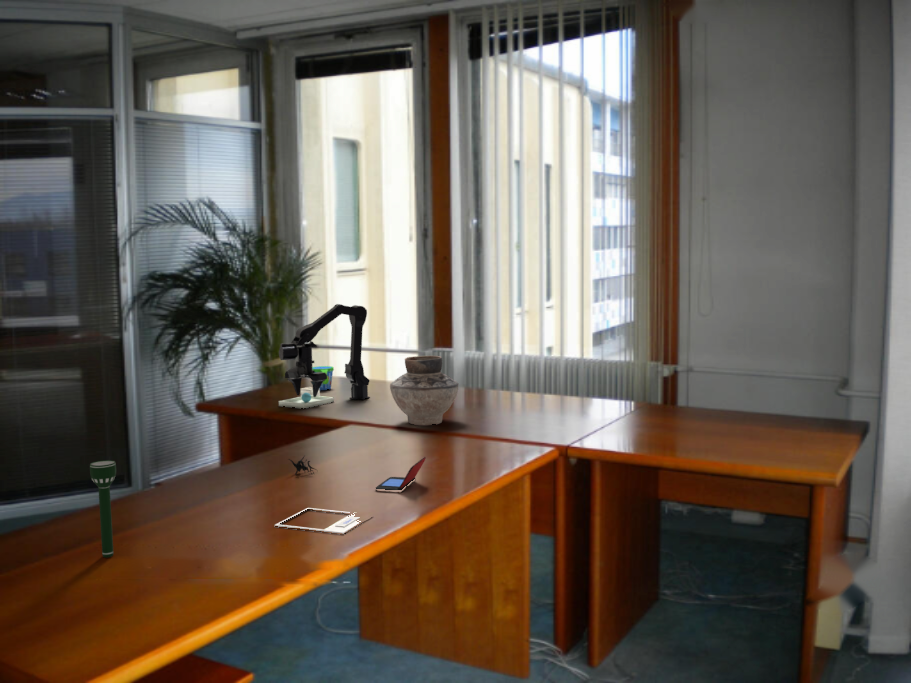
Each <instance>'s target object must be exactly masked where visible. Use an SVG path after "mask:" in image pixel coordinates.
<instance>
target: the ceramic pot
mask: <svg viewBox="0 0 911 683" xmlns="http://www.w3.org/2000/svg"><path fill="white" fill-rule="evenodd" d="M404 365H405V370H406V373H403V374H402V375H400V376H399V377H397V378H395V379H394V380H393V381H392V382H391V383H390V384H389V390H390V393H391V396H392V398H393V401H394V402H395V404H396V406H397V407H398V409H400V411H401V412H402V413H404V415H406V417H407V423H409V424H410V425H413V424H414V426H415V425H416V426H433V425H432V424H436V425H439V424H441V423H442V422H443V415H444V414H445V413H446V412H447V411H448V410H449V409H450V408H451V406H452V405H453V404H454V402H455V399H456V398H457V395H458V392H459V386H460V384H459V383H458V382H457V381H456V380H455V379H453V378H452V377H450V376H449V375H447V374H445V373H442V372H441V371H442V368H443V358H442V356H439V355H417V356H408V357H405V358H404Z"/></svg>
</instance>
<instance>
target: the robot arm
mask: <svg viewBox="0 0 911 683" xmlns="http://www.w3.org/2000/svg"><path fill="white" fill-rule="evenodd" d="M341 315H346V316H348V319H349V323H350V326H351V335H350V355H349V356H350V357H349V362H348V363H345V364H344V368H345V370H344V374H345V377H346V378H347V379H348V380H349V382H350V384H351V388H350V391H351V392H350V393H351V394H350V395H351V397H349V399H350V400H356V399H363V400H366V399H365V398H368V399H370V398H371V396H368V395H369V392H368V390H369V389H368V388H369V387H368V386H369V384H370V382H371V381H370V379H369V378H368V377H367V376H365V372H364V365H363V363H362V350H363V349H362V346H363V330H364V329H363V327H364V326H365V323H366V320H367V316H368V310H367V309H366V307H364V306H363V305H356V304H354V305H352V306H348V305H344V304H339V303H336V304H335V305H334V306H333V307H332V308H330V309H329V310H327V311H326V312H325V313H324V314H322V315H320V316H319V317H318V318H316V320H314V321H313V322H311V323H309V324H306V325H304V326H302V327H300V328H298V329H296V331H295V336H294V337H293V339H292V340H291V342H290V343H280V344H279V350H278V356H279V360H280V361H288V360H289V361H291V360H296V358H297V360H296V362H295V366H293V367H291V368H289V369H288V370H287V371H285V373H284V378H285V379H286V380H287V381H289V382H290V383H291V384H292V385H293V386H292V387H293V389H294V391H295V393H296V396H301V390H300V389H301V388H302V378H305V379H310V383H311V385H312V386H311V387H313V397H316V395H317V393H318V391H319V388H320V386H321V384H322V383H323V381H325V380H326V379H327V374H326V373H324V372H317V373H315V370H313V368H312V367H313V364H315V360H313V348H317V346H318V345H317V344H315V343H314V341H313V339H315V337H316V336H317V334H319V332H320V331H321V330H323V329H324V328H325V327H327V325H329V324H330V323H332V321H334V320H335V319H337V318H338V317H340V316H341Z"/></svg>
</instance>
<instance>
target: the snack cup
mask: <svg viewBox="0 0 911 683" xmlns="http://www.w3.org/2000/svg"><path fill="white" fill-rule="evenodd" d="M312 368H313V370H315V373H317V372H324V373H326V374H327V379H326V380H325V381H323V383H322V384H321V386H320V391H328V390H327V389H329V390H331V388H332V383H333V374H334V373H333V372H334V370H335V369H334V366H330V365H324V366H323V365H321V366H312Z"/></svg>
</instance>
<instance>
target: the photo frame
mask: <svg viewBox="0 0 911 683" xmlns="http://www.w3.org/2000/svg"><path fill="white" fill-rule="evenodd" d="M307 509H313V510H322V511H330V512H341V513H342V512H343V513H350V512H351V511H342V510H332V509H323V508H315V507H314V508H313V507H307V508H304V509H303V510H301V511H299V512H296V513H295V514H293V515H291V516H289V517H287V518H286V519H283V520H281V521H279V522H278V523H275V524H274V527H275V526H278V527H277V528H279V527H287V528H286V529H288V528H300V529H309V530H316V531H324V532H332V533H342V534H344V533H345V532H347V531H348V530H350V529H351V528H353V527H354V526H356V525H357V524H359V522H361V521H359V520H357V519H359V518H360V517H354V516H355V514H354V513H355V512H354V513H353V514H354V515H352V514H351V516H350V515H346V516H344V517H343V518H341V519H339V520H338V521H336V522H335V523H332V524H331V525H330V526H328V527H326V528H324V529H323V528H314V527H306V526H296V525H287V524H283V523H285V522H287V521H289V520H291V519H292V517H293V518H295V517H297V516H298V514H299V515H300V513H301V512H303V511H304V512H306V511H308V510H307ZM305 510H306V511H305ZM304 512H303V513H304ZM301 514H302V513H301ZM296 515H297V516H296ZM294 516H295V517H294ZM348 516H349V517H348ZM290 518H291V519H290ZM288 519H289V520H288ZM286 520H287V521H286ZM356 520H357V521H359V522H357V521H356ZM284 521H285V522H284ZM282 522H283V523H282ZM280 523H281V524H280ZM344 535H345V534H344Z"/></svg>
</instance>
